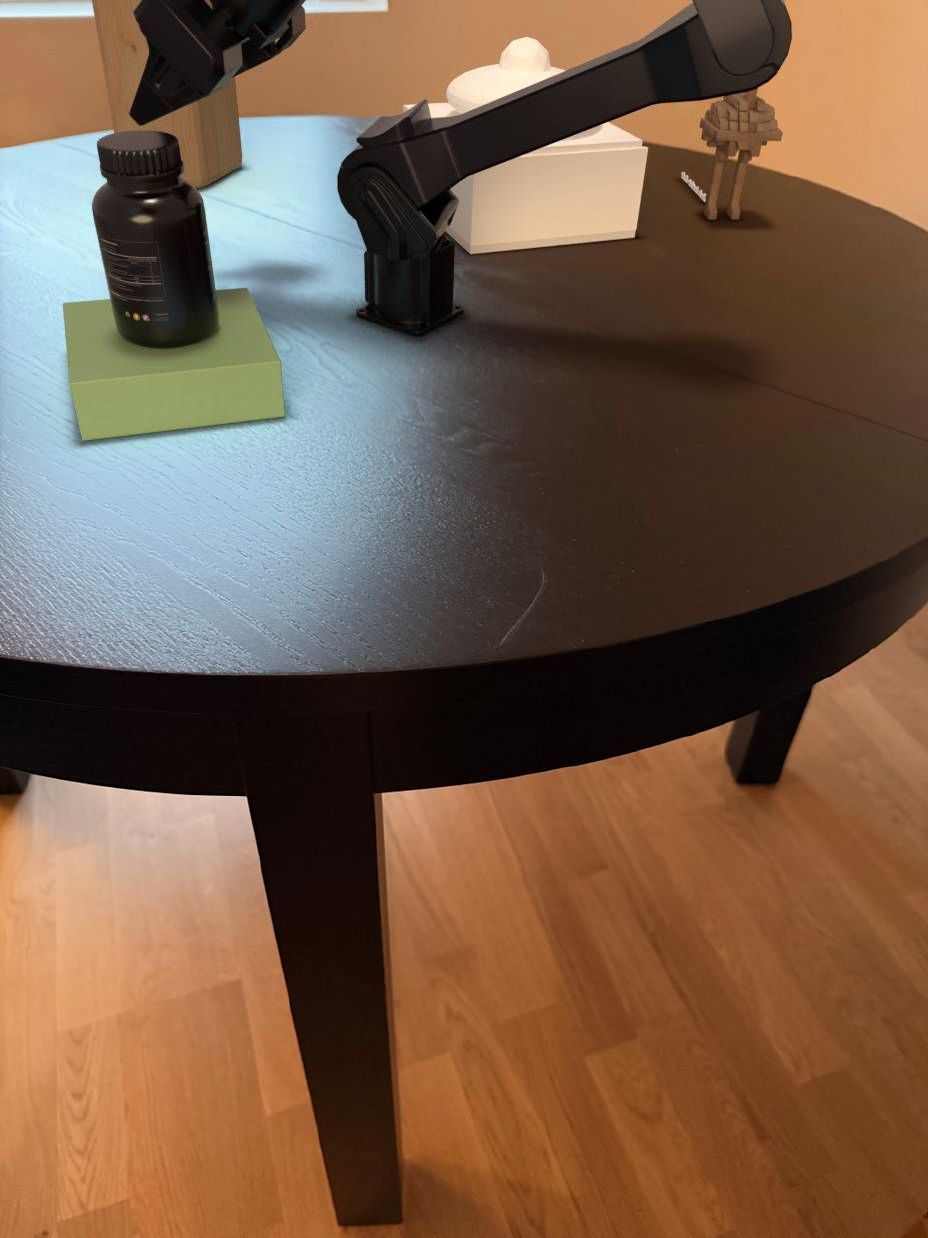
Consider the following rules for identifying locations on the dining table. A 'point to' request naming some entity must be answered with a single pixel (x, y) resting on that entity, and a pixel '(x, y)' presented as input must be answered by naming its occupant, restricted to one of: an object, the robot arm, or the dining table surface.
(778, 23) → the robot arm
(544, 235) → the butter dish
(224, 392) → the green block
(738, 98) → the ostrich figurine
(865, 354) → the dining table surface
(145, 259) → the supplement bottle
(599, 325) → the dining table surface
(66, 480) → the dining table surface
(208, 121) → the wooden block
